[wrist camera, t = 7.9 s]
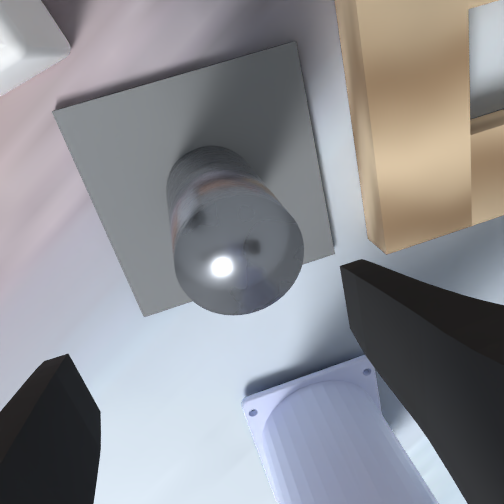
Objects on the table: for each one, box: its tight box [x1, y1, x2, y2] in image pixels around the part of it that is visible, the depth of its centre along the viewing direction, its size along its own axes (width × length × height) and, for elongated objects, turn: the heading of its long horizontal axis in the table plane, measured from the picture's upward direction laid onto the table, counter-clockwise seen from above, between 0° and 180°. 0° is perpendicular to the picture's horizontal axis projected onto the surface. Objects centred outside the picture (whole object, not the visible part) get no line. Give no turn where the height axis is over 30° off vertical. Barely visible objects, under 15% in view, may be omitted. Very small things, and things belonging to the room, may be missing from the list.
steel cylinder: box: [166, 146, 304, 315], centre depth 16 cm, size 4×4×7 cm
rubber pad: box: [52, 41, 335, 317], centre depth 20 cm, size 10×10×1 cm
